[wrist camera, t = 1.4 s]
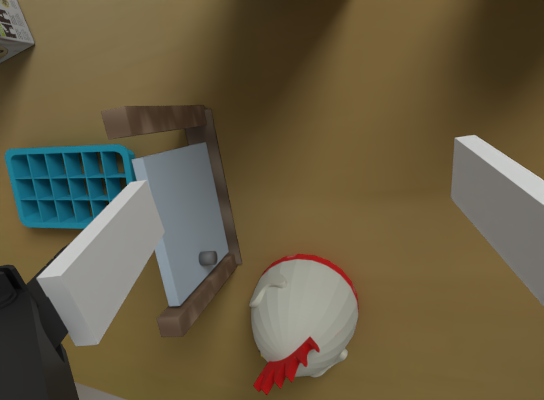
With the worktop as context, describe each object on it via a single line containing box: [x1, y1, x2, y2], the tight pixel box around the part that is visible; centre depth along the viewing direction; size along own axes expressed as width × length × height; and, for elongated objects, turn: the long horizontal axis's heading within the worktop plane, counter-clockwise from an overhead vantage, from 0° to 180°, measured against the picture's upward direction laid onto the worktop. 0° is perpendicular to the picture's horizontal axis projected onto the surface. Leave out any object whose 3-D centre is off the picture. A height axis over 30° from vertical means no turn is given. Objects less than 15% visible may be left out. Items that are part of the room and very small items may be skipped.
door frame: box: [101, 105, 242, 337], centre depth 40 cm, size 22×4×16 cm, turn 10°
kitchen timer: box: [249, 254, 359, 395], centre depth 42 cm, size 14×14×15 cm
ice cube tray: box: [5, 144, 137, 229], centre depth 51 cm, size 12×20×3 cm, turn 93°
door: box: [132, 142, 229, 306], centre depth 41 cm, size 15×3×14 cm, turn 10°
